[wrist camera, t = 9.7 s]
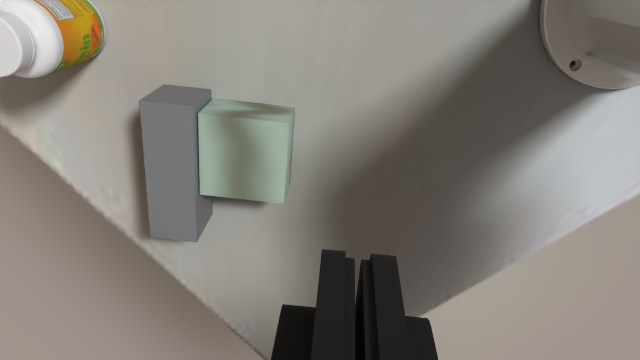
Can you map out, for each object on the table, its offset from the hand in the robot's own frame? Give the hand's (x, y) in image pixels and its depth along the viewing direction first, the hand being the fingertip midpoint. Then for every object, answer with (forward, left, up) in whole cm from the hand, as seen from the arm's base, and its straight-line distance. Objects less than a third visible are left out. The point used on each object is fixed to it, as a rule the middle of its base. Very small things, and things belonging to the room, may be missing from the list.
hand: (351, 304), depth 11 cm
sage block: (+8, +8, -29) cm, 31 cm away
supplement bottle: (+22, 0, -29) cm, 37 cm away
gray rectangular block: (+13, +10, -29) cm, 33 cm away
